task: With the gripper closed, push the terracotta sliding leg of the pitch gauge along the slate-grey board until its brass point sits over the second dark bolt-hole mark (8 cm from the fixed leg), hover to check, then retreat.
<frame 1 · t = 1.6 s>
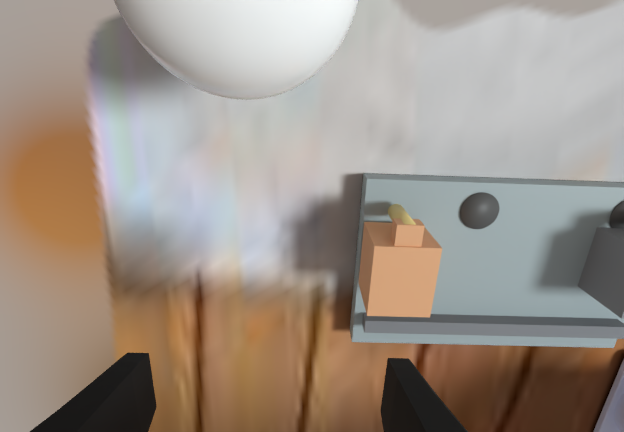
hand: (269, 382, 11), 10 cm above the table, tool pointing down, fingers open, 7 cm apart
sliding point: (397, 257, 17), point 3 cm above the table, slide at 6.5 cm
gauge board: (491, 261, 21), on the table
lightbulb: (269, 22, 17), on the table
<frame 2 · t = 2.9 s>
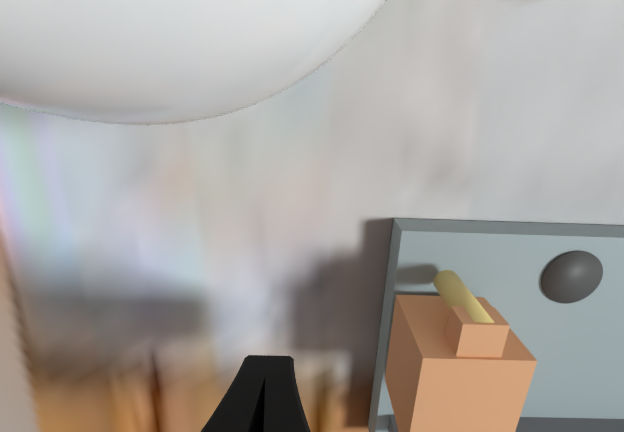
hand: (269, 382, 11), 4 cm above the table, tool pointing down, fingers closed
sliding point: (450, 357, 11), point 3 cm above the table, slide at 6.5 cm
gauge board: (574, 339, 15), on the table
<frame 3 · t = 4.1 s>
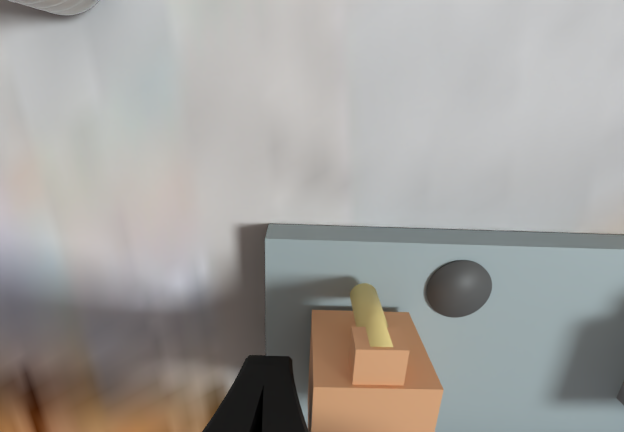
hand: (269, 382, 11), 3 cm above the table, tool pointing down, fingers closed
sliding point: (364, 380, 10), point 3 cm above the table, slide at 5.0 cm, touching gripper
gauge board: (481, 353, 14), on the table
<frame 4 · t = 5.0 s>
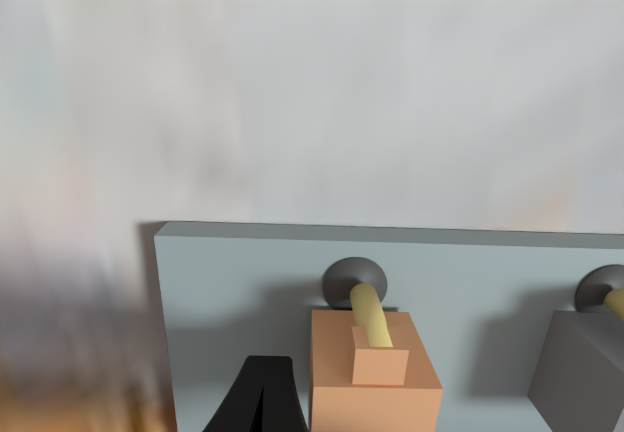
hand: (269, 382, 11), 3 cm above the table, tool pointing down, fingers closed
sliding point: (364, 380, 10), point 3 cm above the table, slide at 1.8 cm, touching gripper
gauge board: (396, 351, 13), on the table
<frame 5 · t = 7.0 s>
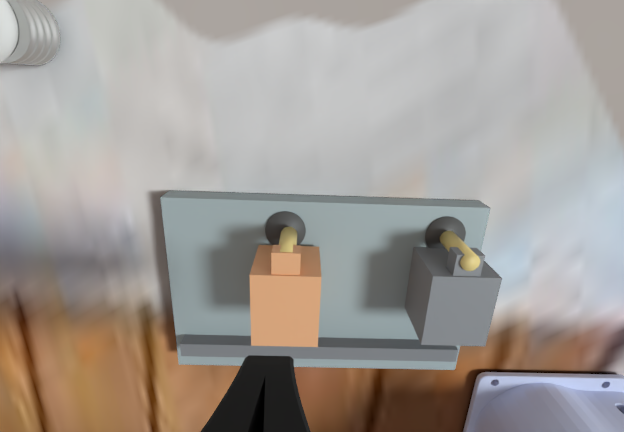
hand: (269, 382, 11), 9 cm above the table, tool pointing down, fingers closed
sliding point: (287, 283, 17), point 3 cm above the table, slide at 1.8 cm
gauge board: (321, 280, 20), on the table
lightbulb: (42, 33, 16), on the table
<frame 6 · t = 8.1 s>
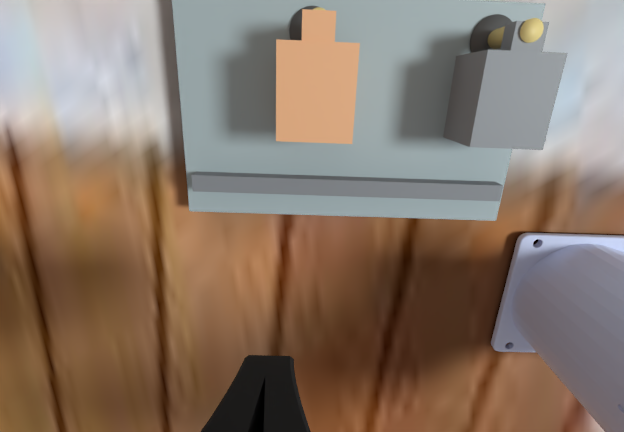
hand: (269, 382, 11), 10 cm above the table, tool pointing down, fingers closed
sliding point: (315, 79, 15), point 3 cm above the table, slide at 1.8 cm
gauge board: (348, 114, 18), on the table
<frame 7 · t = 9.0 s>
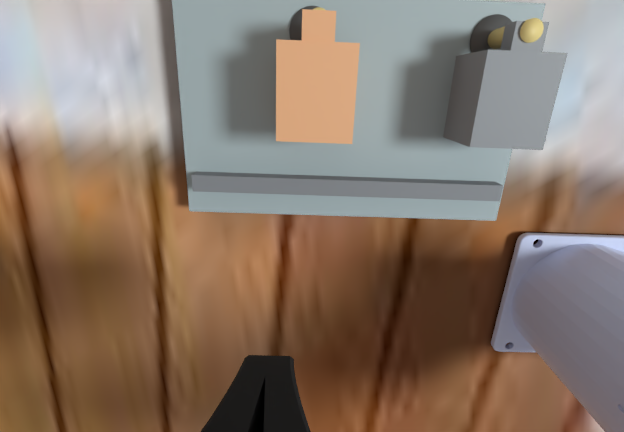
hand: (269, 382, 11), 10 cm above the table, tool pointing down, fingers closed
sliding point: (315, 79, 15), point 3 cm above the table, slide at 1.8 cm
gauge board: (348, 114, 18), on the table
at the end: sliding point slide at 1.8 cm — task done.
